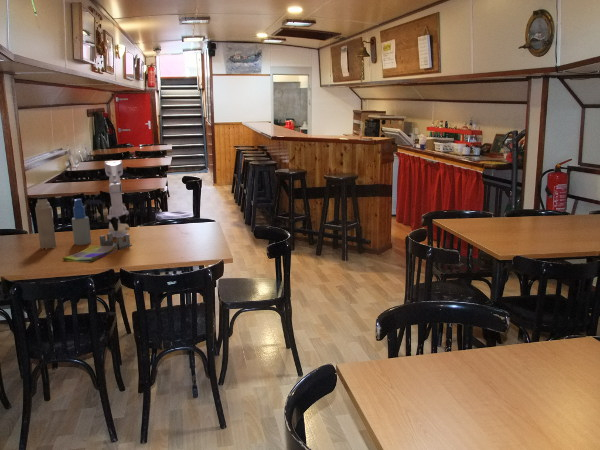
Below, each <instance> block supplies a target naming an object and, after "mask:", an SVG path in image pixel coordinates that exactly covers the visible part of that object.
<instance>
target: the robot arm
mask: <svg viewBox="0 0 600 450" xmlns="http://www.w3.org/2000/svg"><path fill="white" fill-rule="evenodd" d="M123 165H124V164H123V161H122V159H120V160H105V161H104V171H105V175H106V176H107V177H109V179H108V180H109V185H108V193H109V195H110V203H111V206H110V207H109V209H108V211H109V214H108V215H106V217H107V218H106V219H107V220H108V221H109V224H108V234H109V233H112V234H113V238H119V237H122V238H124V236H125V235H129V236H130V235H131V234H130V233H128V232H127V233H120V232H112V231H111V230H110V228H109V227H110V225H111V224H112V226H113V229H114V231H118V223H121V224H127V220H128V219H129V213H130V212H129V210H127V207H126V206H125V205H123V196H122V194H123V187H122V182H121V176H122V175H123V173H124V171H123V170H124V166H123Z"/></svg>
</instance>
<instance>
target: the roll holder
mask: <svg viewBox="0 0 600 450" xmlns="http://www.w3.org/2000/svg"><path fill="white" fill-rule="evenodd" d="M115 238H116V237H115ZM99 246H115V247H117V248H118V249H116V250H117V251H121V250H124V249H126V248H129V247H131V246H133V244H132V243H131V241H130V235H125V236H124V237H119V238H116V242H114V237H113V234H112V233H109V232H108V233H107V234H102V235H100V236H99Z"/></svg>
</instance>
